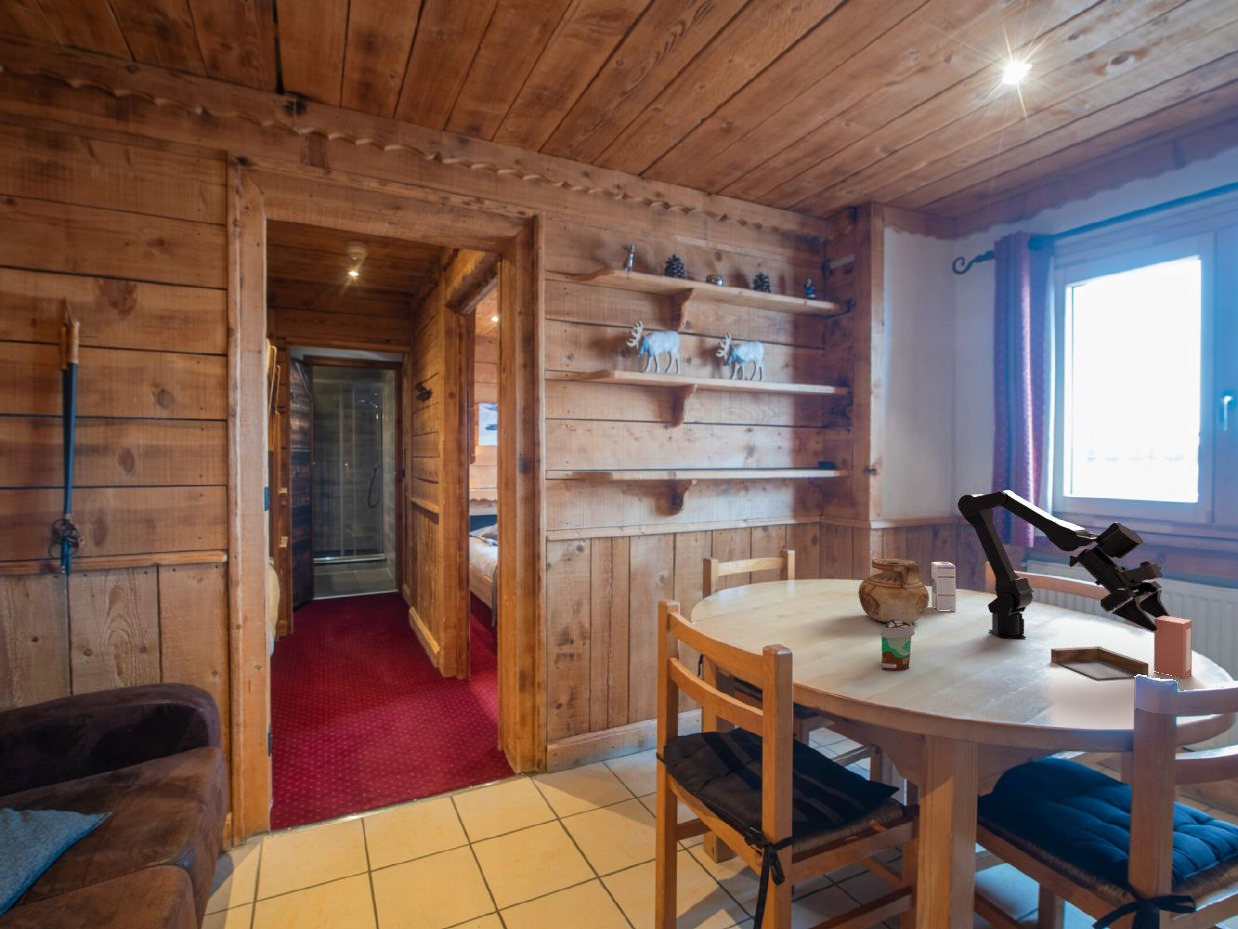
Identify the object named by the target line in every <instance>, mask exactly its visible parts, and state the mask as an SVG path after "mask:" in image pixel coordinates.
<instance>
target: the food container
mask: <svg viewBox="0 0 1238 929" xmlns="http://www.w3.org/2000/svg"><path fill="white" fill-rule="evenodd" d="M880 632H881V633H880V638H881V662H882V663H881V668H882V671H887V672H903V671H907V670H909V669H910V662H911V661H910V659H911V648H912V637H913V636H915V635H916V634H915V633H916V632H915V628H914V625H913V622H912V623H911V622H910V621H908V620H905V619H902V618H898V617H891V616H890V621H889V623H886V624H885V626H884V627H881V629H880Z"/></svg>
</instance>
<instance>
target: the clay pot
mask: <svg viewBox="0 0 1238 929" xmlns="http://www.w3.org/2000/svg"><path fill="white" fill-rule="evenodd" d="M871 567H872V568H873V569H876V570H879V571H882V572H881V573H875V574H873V575H869V576H868V577H866V578H864V579H863V580H862V582H861V583H860V585H859V587H858V599H859V602H860V605H861V607H862V610H863V611H864V613H865V614H866V615H867V616H869V618H871V619H873V620H875V621H877V620H878V621H877V622H880V621H882V622H881V623H884V622H886V624H887V623H889V621H890V616H891V617H898V618H902V619H905V620H908V621H910V622H911V623H912V624H913V623H914V622H916V621H918V620H919V619H921V618H922V616H924V615H925V612H926V610H927V609H928V605H929V602H930V593H929V592H928V589H927V586H926V585H925V584H924V583H923V582H922V581H921V580H920V579H919V574H920V567H919V565H918V564H917V563H916V561H914V560H912V559H906V558H905V559H904V558H892V557H891V558H888V557H887V558H885V557H883V558H875V559H872V560H871Z"/></svg>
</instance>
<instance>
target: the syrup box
mask: <svg viewBox="0 0 1238 929" xmlns="http://www.w3.org/2000/svg"><path fill="white" fill-rule="evenodd" d="M956 577H957V576H956V565H954V564H953V563H951V562H949V561H932V562H931V607H932V606H933V607H935V608H936V609H937V610H950V611H956V612H957V592H956V591H957V589H956V588H957V587H956V586H957V584H956ZM933 607H932V608H933ZM936 609H935V610H936ZM937 610H936V611H937Z"/></svg>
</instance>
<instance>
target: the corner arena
mask: <svg viewBox="0 0 1238 929" xmlns="http://www.w3.org/2000/svg"><path fill="white" fill-rule="evenodd" d="M1050 662H1051V663H1053V664H1056V665H1059V666H1061V667H1064V668H1066V669H1068V670H1071V671H1074V672H1075V673H1079V674H1080V675H1083V676H1085V677H1087V678H1091V679H1092V680H1096V681H1106V680H1107V681H1108V680H1124V679H1125V680H1126V679H1135V678H1134V676H1136V675H1137V674H1141V675H1147V676H1148V677H1149V663H1148V662H1145V661H1142V660H1140V659H1136V658H1135V657H1132V656H1131V657H1130V656H1127V655H1124V654H1122V653H1118V652H1115V651H1114V650H1110V649H1108V648H1104V647H1102V646H1098V645H1097V646H1082V647H1081V646H1080V647H1079V646H1078V647H1061V648H1060V647H1059V648H1051V649H1050Z"/></svg>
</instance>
